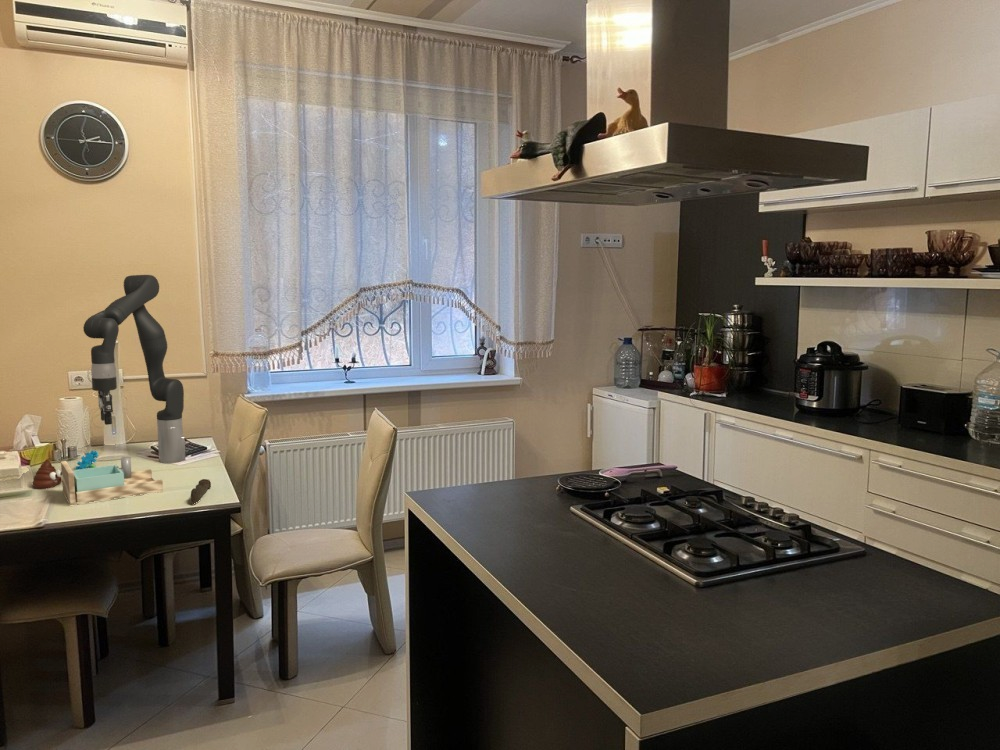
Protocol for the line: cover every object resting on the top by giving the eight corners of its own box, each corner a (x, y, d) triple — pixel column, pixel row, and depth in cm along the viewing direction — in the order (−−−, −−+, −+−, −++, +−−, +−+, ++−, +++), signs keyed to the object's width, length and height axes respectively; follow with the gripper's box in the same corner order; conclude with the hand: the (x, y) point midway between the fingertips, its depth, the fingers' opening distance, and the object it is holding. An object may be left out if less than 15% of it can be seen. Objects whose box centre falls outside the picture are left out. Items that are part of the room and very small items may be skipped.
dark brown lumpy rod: (199, 489, 262) (198, 476, 261) (211, 489, 263) (210, 476, 262) (184, 506, 243) (183, 493, 243) (197, 506, 244) (196, 492, 243)
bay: (151, 479, 272) (149, 450, 271) (163, 491, 258) (161, 460, 256) (63, 492, 256) (60, 461, 254) (70, 506, 241) (68, 473, 240)
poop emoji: (44, 481, 269) (42, 456, 268) (68, 481, 269) (66, 456, 268) (26, 489, 259) (24, 463, 258) (51, 489, 259) (49, 463, 258)
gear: (70, 466, 283) (90, 446, 286) (82, 474, 287) (102, 454, 290) (79, 476, 275) (99, 455, 279) (91, 484, 279) (112, 463, 282)
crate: (128, 481, 265) (126, 453, 264) (136, 490, 255) (134, 461, 254) (72, 489, 255) (70, 460, 253) (78, 499, 245) (75, 469, 243)
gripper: (119, 377, 253) (121, 424, 255) (112, 373, 264) (115, 418, 266) (94, 379, 248) (97, 427, 250) (88, 374, 260) (91, 420, 262)
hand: (106, 422), depth 258 cm, fingers open, 8 cm apart
